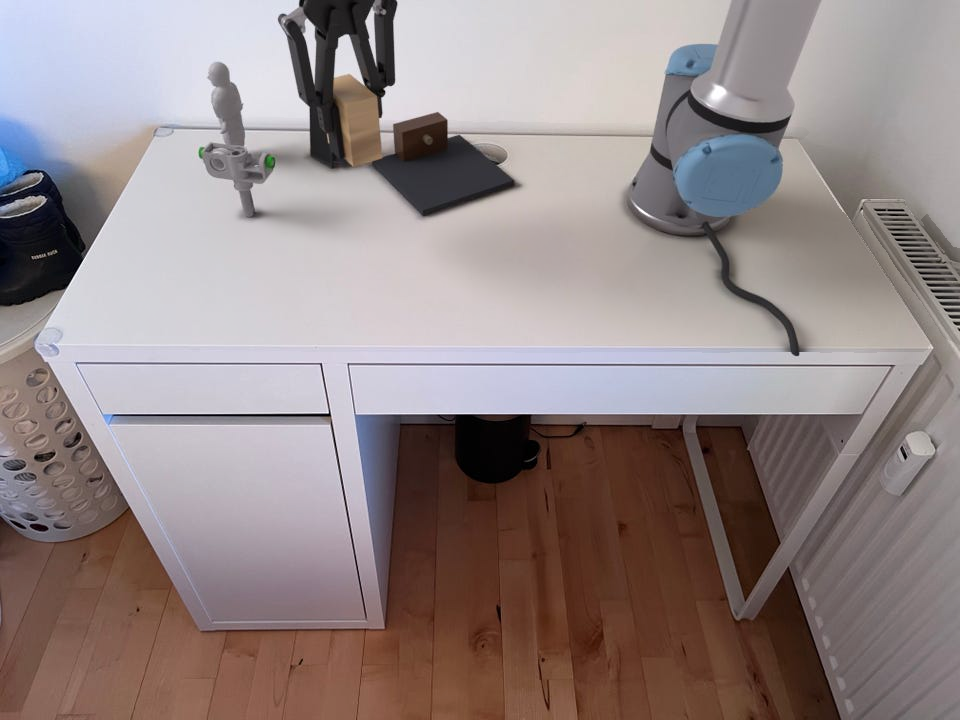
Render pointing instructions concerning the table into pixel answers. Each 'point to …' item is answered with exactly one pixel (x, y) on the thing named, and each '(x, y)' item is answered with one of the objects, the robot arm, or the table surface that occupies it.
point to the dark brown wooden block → (420, 136)
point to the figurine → (227, 104)
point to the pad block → (357, 120)
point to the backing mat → (443, 176)
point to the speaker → (321, 142)
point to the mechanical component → (237, 169)
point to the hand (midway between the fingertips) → (354, 148)
